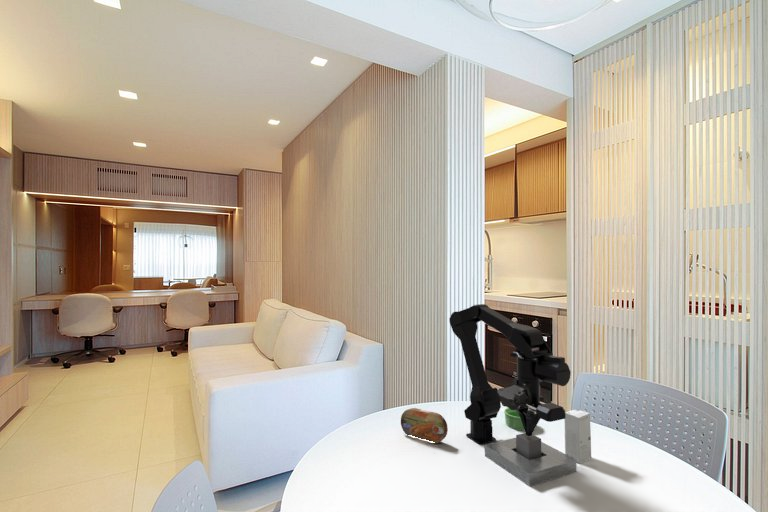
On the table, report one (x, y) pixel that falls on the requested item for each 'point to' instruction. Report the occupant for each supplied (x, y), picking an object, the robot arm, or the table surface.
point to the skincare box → (578, 435)
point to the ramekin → (513, 419)
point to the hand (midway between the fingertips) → (528, 435)
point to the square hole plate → (530, 462)
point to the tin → (424, 424)
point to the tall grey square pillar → (528, 446)
